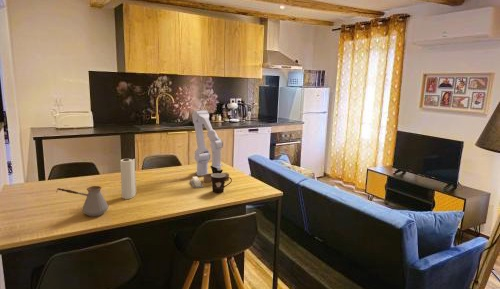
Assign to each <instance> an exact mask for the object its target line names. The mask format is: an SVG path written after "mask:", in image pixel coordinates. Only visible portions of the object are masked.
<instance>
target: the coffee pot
mask: <svg viewBox="0 0 500 289" xmlns="http://www.w3.org/2000/svg"><path fill="white" fill-rule="evenodd" d="M101 189H102V186H100V185H92V186H88V187H87V188H86V191H87V193H85V192H79V191H75V190H71V189H65V188H61V187H59V188H57V189H56V192H55V193H56V194H57V193H58V191H61V192H66V193H69V194H75V195H76V194H77V195H82V196H85V197H86V198H85V201H84V203H83V206H82V209H81V211H82V212H83V214H85V215H86V216H88V217H99V216H102V215H103V214H105V212H107V210H108V209H109V205H108V202H107V201H106V199H105V197H104V196H103V194H102V192H101Z"/></svg>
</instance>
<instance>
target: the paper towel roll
mask: <svg viewBox="0 0 500 289" xmlns="http://www.w3.org/2000/svg"><path fill="white" fill-rule="evenodd" d="M119 162H120V164H119V165H120V179H121V180H120V184H121V186H120V187H121V198H122V199H125V200H128V199H132V198H134V197H135V196H136V195H137V182H136V181H137V180H136V177H137V176H136V158H133V159H132V158H123V159H120V161H119Z"/></svg>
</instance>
